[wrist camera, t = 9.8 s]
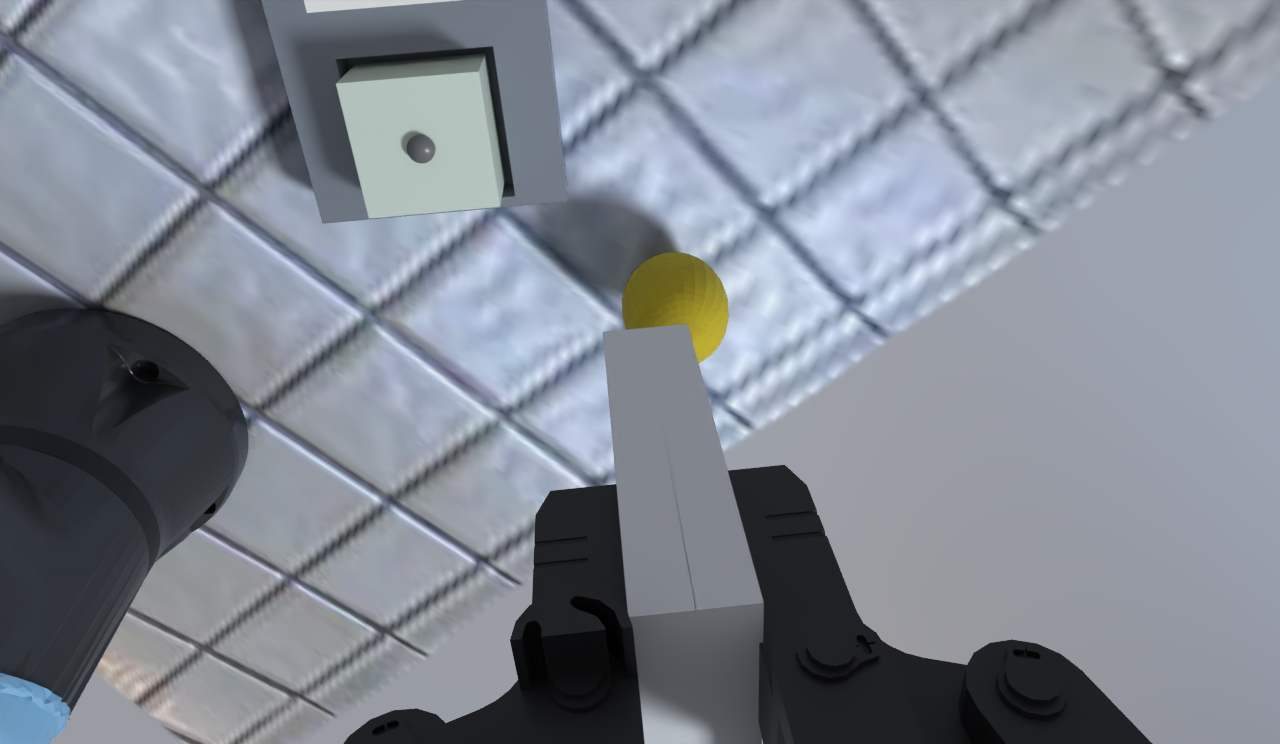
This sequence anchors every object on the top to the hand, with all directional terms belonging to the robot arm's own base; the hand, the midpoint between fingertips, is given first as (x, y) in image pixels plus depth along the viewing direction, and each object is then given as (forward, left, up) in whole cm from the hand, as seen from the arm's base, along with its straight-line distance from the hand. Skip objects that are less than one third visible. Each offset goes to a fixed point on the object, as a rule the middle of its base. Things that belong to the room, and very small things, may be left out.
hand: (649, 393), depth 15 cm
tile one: (-8, -2, -29) cm, 30 cm away
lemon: (+3, -12, -31) cm, 33 cm away
